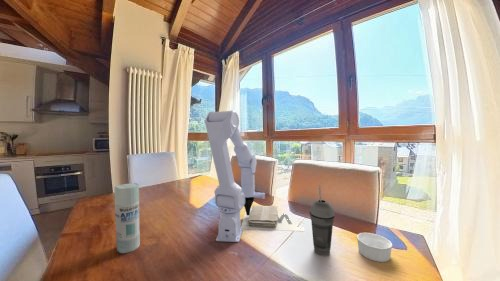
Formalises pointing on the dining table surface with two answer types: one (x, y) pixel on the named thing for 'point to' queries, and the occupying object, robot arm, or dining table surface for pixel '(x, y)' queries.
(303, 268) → the dining table surface
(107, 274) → the dining table surface
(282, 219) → the placemat
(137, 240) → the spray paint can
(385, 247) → the ramekin
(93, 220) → the dining table surface
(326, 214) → the beverage cup
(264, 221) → the washcloth
